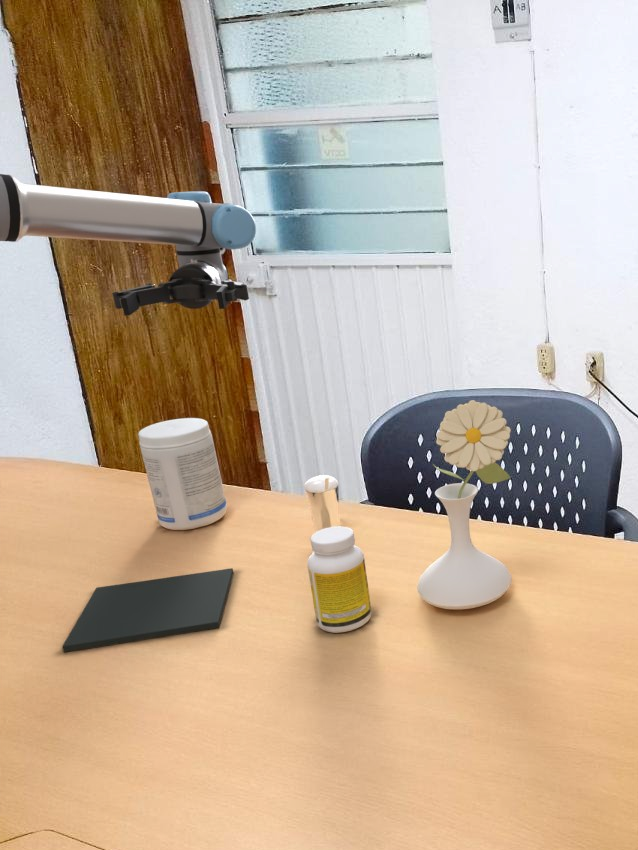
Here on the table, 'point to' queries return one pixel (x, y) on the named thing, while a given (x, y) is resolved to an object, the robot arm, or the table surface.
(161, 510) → the supplement tub
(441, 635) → the table surface
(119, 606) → the mat
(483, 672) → the table surface
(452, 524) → the flower in vase
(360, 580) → the pill bottle
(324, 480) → the milkshake
